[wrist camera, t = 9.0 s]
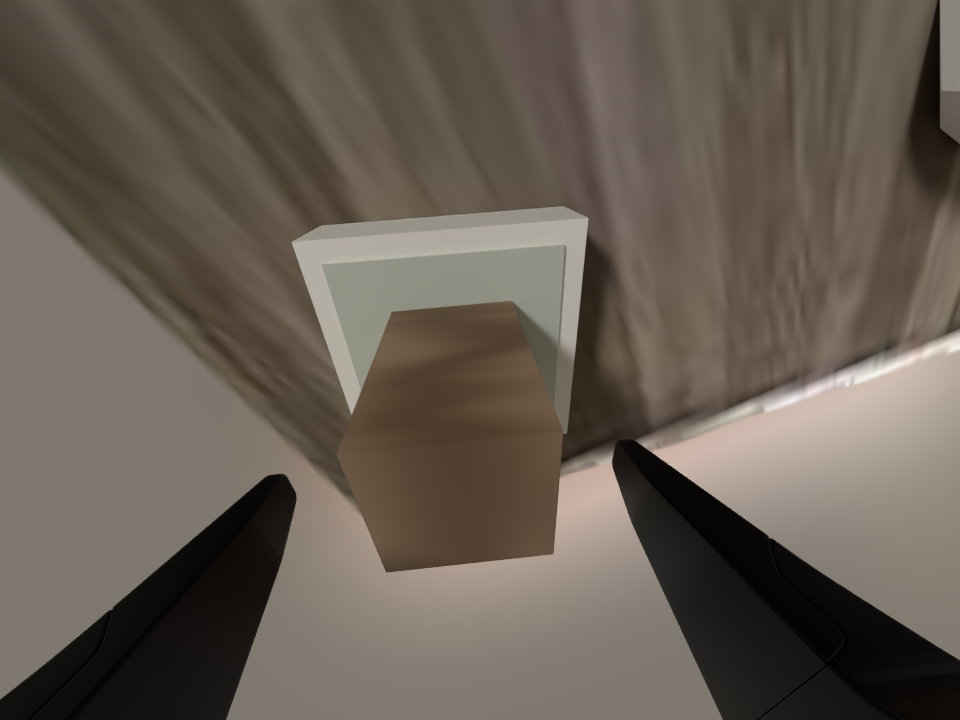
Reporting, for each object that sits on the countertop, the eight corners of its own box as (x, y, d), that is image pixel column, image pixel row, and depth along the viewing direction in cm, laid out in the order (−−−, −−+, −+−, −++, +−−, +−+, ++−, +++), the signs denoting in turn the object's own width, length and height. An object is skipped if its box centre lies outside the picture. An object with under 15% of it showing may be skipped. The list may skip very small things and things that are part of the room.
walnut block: (511, 300, 13) (563, 431, 7) (513, 395, 15) (553, 553, 9) (391, 311, 13) (336, 454, 7) (412, 405, 15) (386, 572, 9)
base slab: (563, 206, 14) (589, 218, 11) (551, 396, 19) (567, 435, 17) (321, 225, 14) (289, 243, 11) (376, 412, 19) (364, 455, 16)
